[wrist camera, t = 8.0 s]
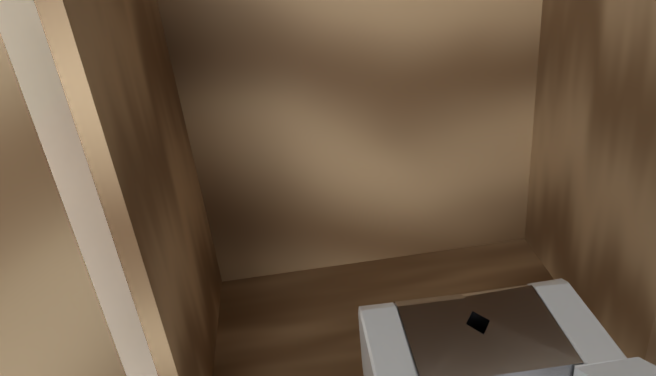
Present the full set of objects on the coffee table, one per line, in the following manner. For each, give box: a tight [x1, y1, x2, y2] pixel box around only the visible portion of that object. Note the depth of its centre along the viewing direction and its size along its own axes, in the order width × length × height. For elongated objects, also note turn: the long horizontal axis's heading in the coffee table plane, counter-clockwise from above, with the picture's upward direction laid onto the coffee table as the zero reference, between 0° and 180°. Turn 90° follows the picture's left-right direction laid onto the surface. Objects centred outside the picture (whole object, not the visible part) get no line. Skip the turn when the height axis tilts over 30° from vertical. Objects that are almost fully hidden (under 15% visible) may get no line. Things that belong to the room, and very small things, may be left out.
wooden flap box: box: [34, 0, 656, 376], centre depth 16 cm, size 19×14×12 cm
